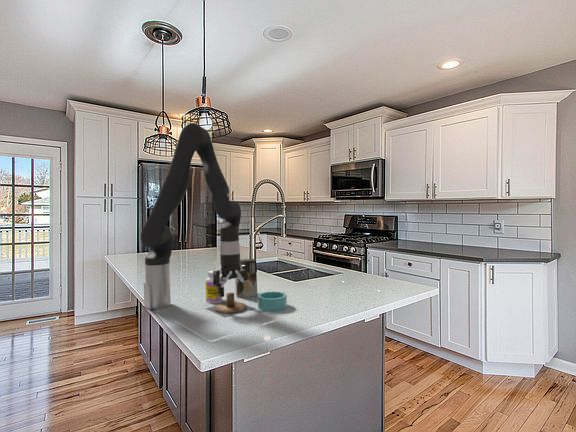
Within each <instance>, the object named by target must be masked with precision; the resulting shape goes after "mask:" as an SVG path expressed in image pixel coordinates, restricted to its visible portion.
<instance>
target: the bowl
mask: <svg viewBox="0 0 576 432" xmlns="http://www.w3.org/2000/svg"><path fill="white" fill-rule="evenodd" d="M287 303H288V302H287V294H286V293H285V292H282V291H275V290H274V291H264V292H260V293H258V294H257V308H258V310H260V311H263V312H279V311H283V310H285V309H287V305H288V304H287Z"/></svg>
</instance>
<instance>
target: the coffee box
mask: <svg viewBox="0 0 576 432" xmlns="http://www.w3.org/2000/svg"><path fill="white" fill-rule="evenodd" d="M241 265H246V266H247V274H248V280H246V281H244V283H243V284H244V290H243V292H238V282H239V281H238V280H237V279H236V278H235V279H234V285H235V287H234V288H235V289H234V290H235V291H234V295H235V296H236V298H245V297H256V296H257V297H258V282H257V281H258V277H257V276H258V275H257V259H255V258H243V259H242V258H240V266H241ZM239 273H240V275H241V276H242V274H241V270H240V272H239Z"/></svg>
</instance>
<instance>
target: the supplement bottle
mask: <svg viewBox="0 0 576 432" xmlns="http://www.w3.org/2000/svg"><path fill="white" fill-rule="evenodd" d="M214 270H215V269H214ZM214 270H209V271H207V275H208V277H206V279H205V302H206V303H208V304H216V303H222V301H223V297H220V295H219V294H218V286H214V285H213V271H214Z"/></svg>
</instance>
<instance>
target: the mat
mask: <svg viewBox="0 0 576 432" xmlns="http://www.w3.org/2000/svg"><path fill="white" fill-rule="evenodd" d="M234 302H238V301H237V300H234ZM215 306H216V305H214V306H211V307H206V308H204V309H205V310H207V311H210V312H212V313H214V314H216V315H217V316H221V317H223V318H228V317H232V316H235V315H238V314H241V313H245V312H249V311H253V310H256V307H253V306H250V305H247V304H246V309H245V310H244V311H241V312H238V313H231V314H224V313H218V312H216V311H215Z"/></svg>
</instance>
